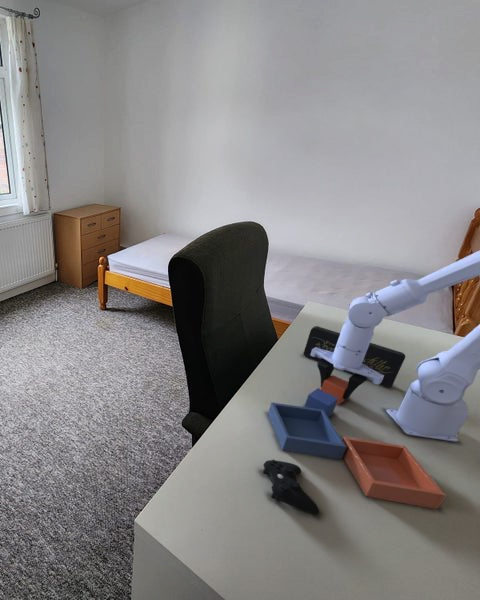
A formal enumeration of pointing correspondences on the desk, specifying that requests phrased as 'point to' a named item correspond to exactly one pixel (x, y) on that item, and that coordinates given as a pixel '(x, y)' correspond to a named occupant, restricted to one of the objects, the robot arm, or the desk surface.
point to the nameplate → (374, 358)
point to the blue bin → (306, 431)
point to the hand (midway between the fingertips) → (334, 392)
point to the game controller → (288, 486)
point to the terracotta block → (335, 387)
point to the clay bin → (391, 473)
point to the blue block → (321, 401)
